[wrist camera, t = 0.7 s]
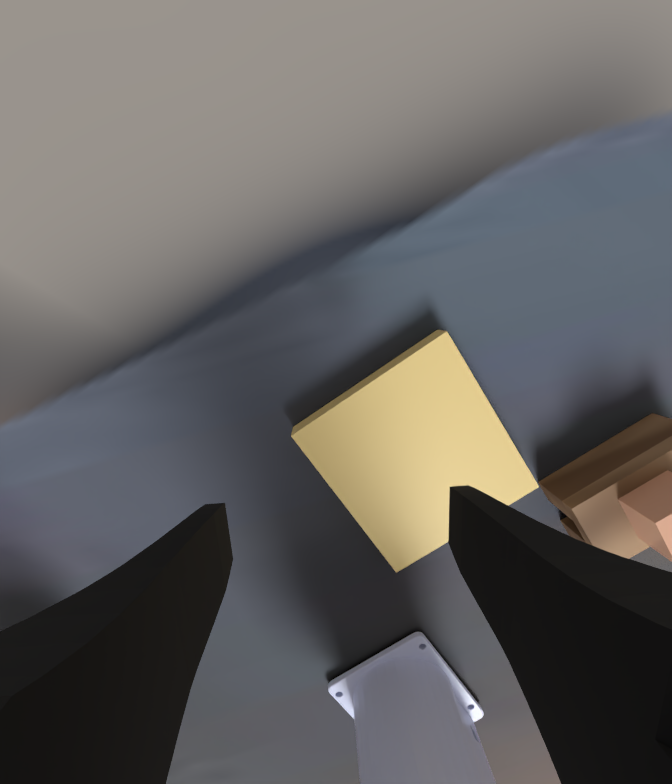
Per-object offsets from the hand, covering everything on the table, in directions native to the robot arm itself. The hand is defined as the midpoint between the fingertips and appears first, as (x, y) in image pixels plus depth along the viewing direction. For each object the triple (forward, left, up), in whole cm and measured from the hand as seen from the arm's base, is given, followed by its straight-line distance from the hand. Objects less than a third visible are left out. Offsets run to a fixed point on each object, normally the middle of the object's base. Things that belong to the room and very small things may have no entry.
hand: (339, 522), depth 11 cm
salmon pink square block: (-13, -13, -7) cm, 19 cm away
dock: (-4, -3, -10) cm, 11 cm away
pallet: (-13, -13, -10) cm, 21 cm away
